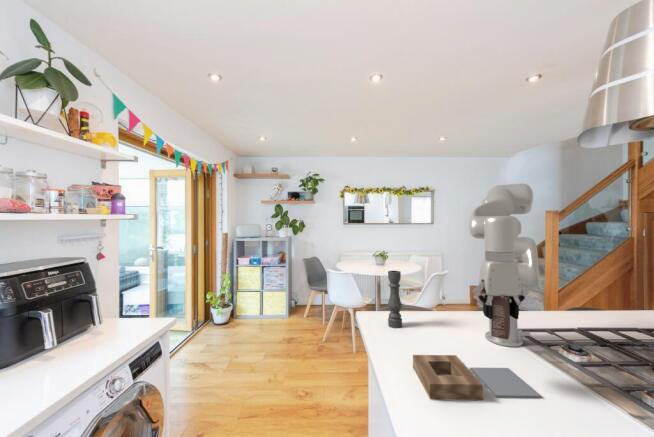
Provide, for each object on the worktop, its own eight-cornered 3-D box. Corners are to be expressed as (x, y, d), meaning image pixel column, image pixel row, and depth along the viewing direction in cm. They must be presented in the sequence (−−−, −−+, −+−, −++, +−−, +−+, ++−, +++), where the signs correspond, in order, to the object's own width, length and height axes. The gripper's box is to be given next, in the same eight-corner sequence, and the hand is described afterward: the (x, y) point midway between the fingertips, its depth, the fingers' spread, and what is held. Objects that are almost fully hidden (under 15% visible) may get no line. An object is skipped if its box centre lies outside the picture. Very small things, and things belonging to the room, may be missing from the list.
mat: (508, 369, 86) (508, 367, 86) (541, 398, 72) (541, 395, 72) (470, 369, 86) (470, 367, 86) (496, 397, 72) (496, 395, 72)
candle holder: (394, 329, 119) (393, 273, 120) (385, 324, 125) (384, 271, 125) (404, 326, 122) (404, 272, 123) (395, 322, 128) (394, 270, 128)
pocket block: (456, 367, 87) (455, 355, 87) (483, 399, 71) (482, 384, 71) (413, 367, 88) (412, 354, 88) (430, 399, 72) (429, 384, 72)
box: (492, 330, 83) (493, 291, 83) (510, 334, 80) (511, 294, 80) (489, 336, 78) (491, 294, 78) (508, 340, 75) (509, 298, 76)
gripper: (520, 255, 83) (522, 313, 83) (464, 256, 84) (465, 313, 83) (538, 258, 76) (540, 322, 75) (476, 259, 76) (477, 322, 76)
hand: (500, 316), depth 79 cm, fingers closed on box, 6 cm apart
